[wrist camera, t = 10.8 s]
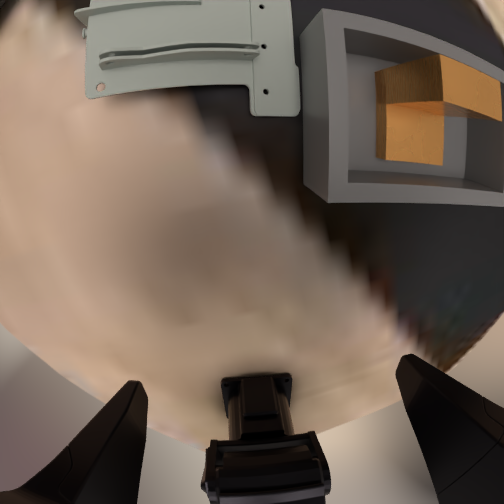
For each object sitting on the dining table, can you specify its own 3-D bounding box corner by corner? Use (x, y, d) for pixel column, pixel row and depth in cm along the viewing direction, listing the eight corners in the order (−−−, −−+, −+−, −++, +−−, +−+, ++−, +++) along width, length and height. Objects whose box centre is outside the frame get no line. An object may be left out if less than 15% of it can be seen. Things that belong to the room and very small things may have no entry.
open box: (467, 189, 19) (507, 207, 14) (303, 184, 18) (327, 202, 14) (469, 77, 15) (511, 75, 10) (299, 36, 14) (322, 8, 10)
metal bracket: (64, 137, 11) (90, -77, 5) (87, 138, 16) (96, -36, 10) (329, 116, 15) (310, -67, 9) (284, 119, 20) (275, -36, 14)
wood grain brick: (431, 162, 18) (498, 183, 11) (375, 157, 17) (441, 176, 11) (431, 85, 15) (499, 81, 9) (374, 71, 15) (439, 54, 8)
